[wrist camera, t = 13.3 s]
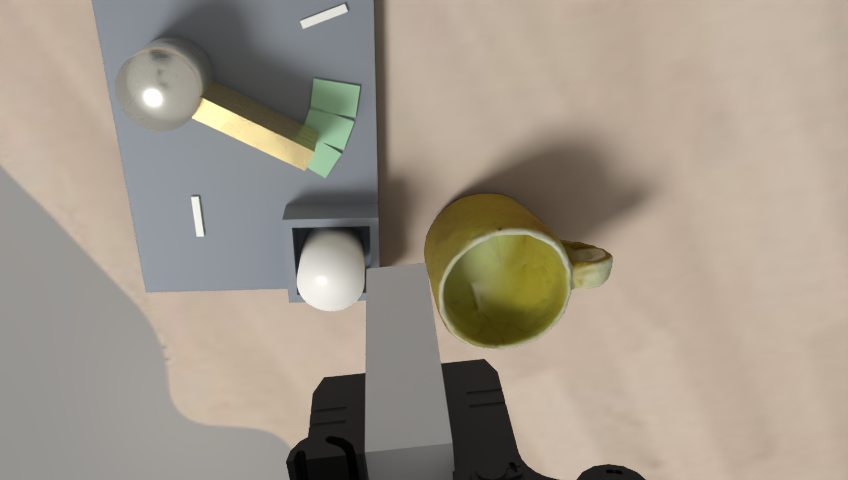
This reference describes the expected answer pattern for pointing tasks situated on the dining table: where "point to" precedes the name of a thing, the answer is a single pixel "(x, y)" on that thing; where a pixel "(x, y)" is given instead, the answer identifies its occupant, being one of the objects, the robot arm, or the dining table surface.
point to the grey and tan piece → (204, 101)
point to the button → (331, 268)
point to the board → (239, 162)
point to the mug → (504, 271)
